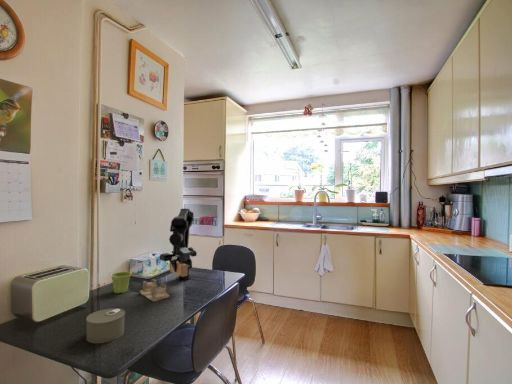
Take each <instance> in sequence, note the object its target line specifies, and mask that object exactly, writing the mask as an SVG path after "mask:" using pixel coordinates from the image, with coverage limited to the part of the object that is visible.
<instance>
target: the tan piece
mask: <svg viewBox="0 0 512 384" xmlns="http://www.w3.org/2000/svg"><path fill="white" fill-rule="evenodd" d="M139 294H141V295H142V296H144V297H145V298H147V299H149V300H151V301H152V302H157V301H160V300H163V299H168V298H170V294H169V293H167V285H166V284H165V283H161V286H159V287H158V285H157V280H156V279H154V278H153V279H152V281H150V282H147V281H145V280H144V281H142V289H141V290H139Z"/></svg>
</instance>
